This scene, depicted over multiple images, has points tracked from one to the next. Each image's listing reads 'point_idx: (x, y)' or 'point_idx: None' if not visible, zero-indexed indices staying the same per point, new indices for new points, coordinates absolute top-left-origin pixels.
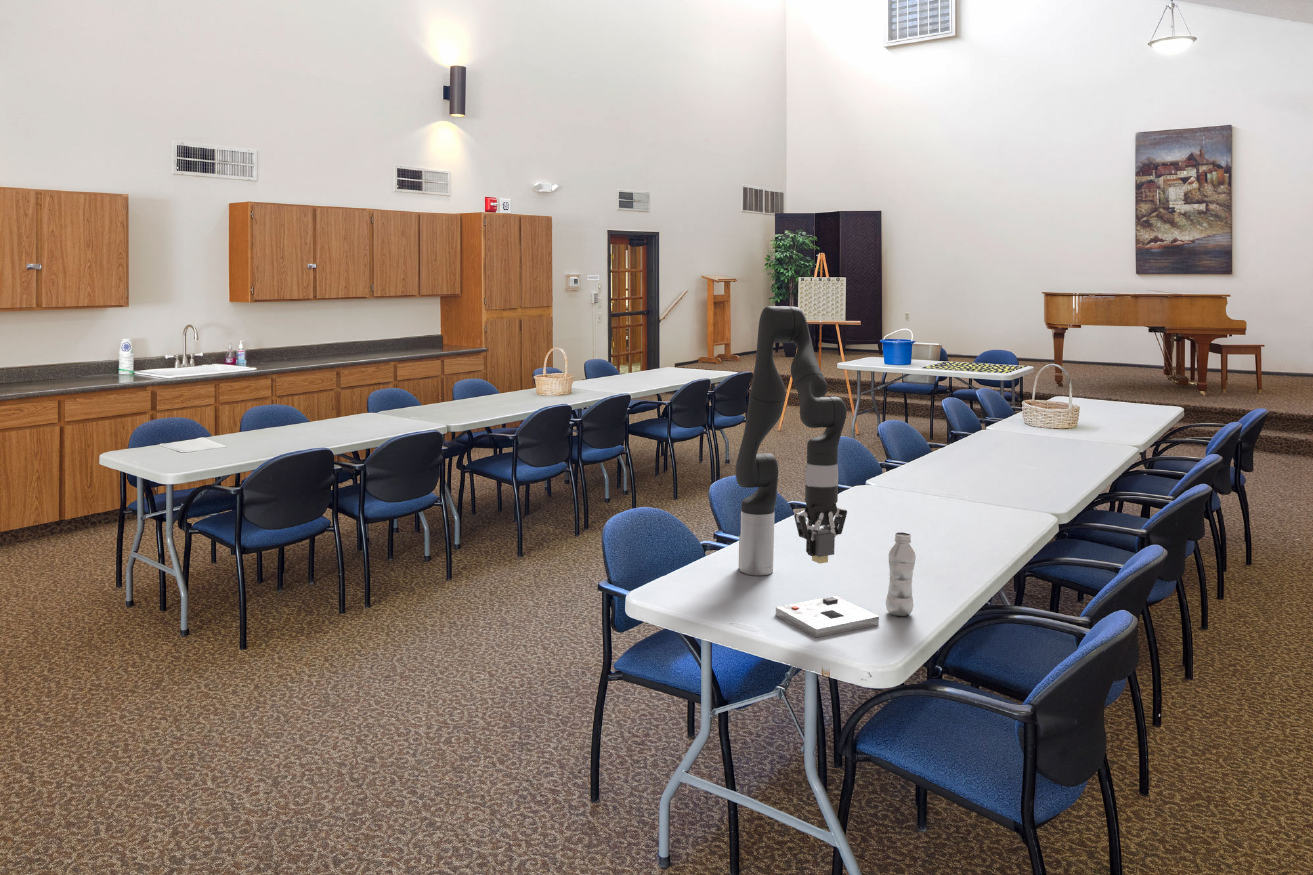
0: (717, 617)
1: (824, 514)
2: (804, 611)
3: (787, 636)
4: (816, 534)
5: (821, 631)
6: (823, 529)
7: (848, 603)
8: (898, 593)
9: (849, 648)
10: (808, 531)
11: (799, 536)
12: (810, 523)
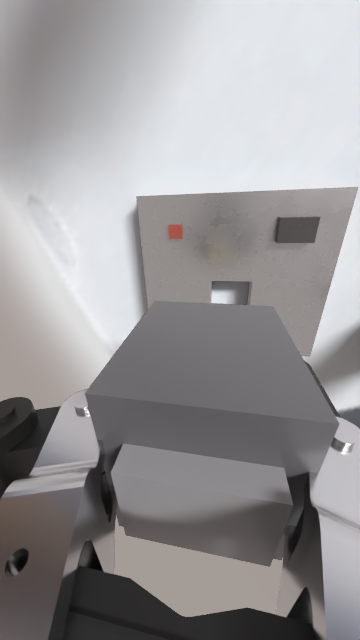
0: (8, 144)
1: None
2: (185, 258)
3: (113, 309)
4: (117, 501)
5: None
6: (235, 532)
7: (327, 263)
8: None
9: None
10: (60, 464)
11: (4, 402)
12: (32, 580)
